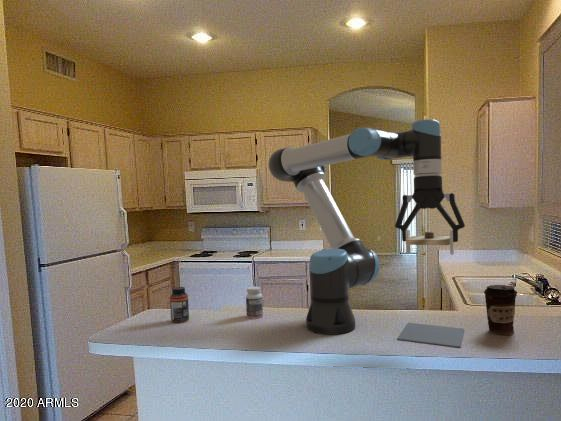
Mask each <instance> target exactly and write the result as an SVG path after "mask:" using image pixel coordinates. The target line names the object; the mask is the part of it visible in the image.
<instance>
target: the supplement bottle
mask: <svg viewBox="0 0 561 421" xmlns="http://www.w3.org/2000/svg"><path fill="white" fill-rule="evenodd" d="M169 301H170V302H169V303H170V322H172V323H173V322H174V324H181V323H180V322H183V323H186V322H188V321H189V320H190V314H189V313H190V311H189V310H190V309H189V295H188V293H187V292H186V288H185V286H176V287H173V288H172V294H171V295H170V296H169ZM187 320H188V321H187ZM185 321H186V322H185Z"/></svg>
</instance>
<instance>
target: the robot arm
mask: <svg viewBox="0 0 561 421" xmlns="http://www.w3.org/2000/svg"><path fill="white" fill-rule="evenodd" d="M411 125H412V126H411V129H409V130H406V131H401V132H400V131H399V132H398V131H397V132H392V131H387V130H381V129H377V128H373V127H369V126H368V127H367V126H366V127H357V128H356V129H354V130H353V131H352V132H351V133H349V134H345V135H341V136H338V137H332V138H330V139H325V140H322V141H318V142H316V143H311V144H308V145H303V146H299V147H296V148H295V147H293V146H288V147H284V148H280V149H277V150H275V151H274V152H272V154H271V155H270V157H269V160H268V170H269V172H270V174H271V176H273V178H274V179H276V180H277V181H281V182H287V183H290V182H292V183H293V184H294V187H295V189H296V191H297V192H299V193H302V194H303V196H304V197H305V199H306V201H307V203H308V206H309V207H310V209H311V211H312V213H313V215H314V216H315V218H316V220H317V223H318V225H319V226H320V229H321V230H322V233H323V234H324V236H325V239H326V240H327V242H328V244H329V246H330V248H328V249H321V250H318V251H315V252H314V253H312V254H311V256H310V257H309V267H308V270H309V287H310V304H309V307H308V311H307V314H306V318H305V328H306V329H307V330H309V331H311V332H313V333H317V334H323V335H339V334H346V333H349V332H351V331H354V330H355V329H356V319H355V316H354V313H353V309H352V306H351V304H350V302H349V301H350V299H349V297H350V296H349V294H350V292H349V289H352V288H355V287H359V286H365V285H367V284H369V283H371V282H373V281H374V280H375V279H376V278H377V276H378V274H379V272H380V271H379V270H380V260H379V257H378V255H377V253H376V252H375V251H374V250H372V249H371V248H367V247H366V246H365V245H364V243H363V242H362V240H361V238H357V237H355V235H354V234H353V233H352V231H351V229H350V227H349V225H348V224H347V223H348V222H347V221H346V219H345V218H344V216H343V213H342V212H341V210H340V208H339V206H338V205H337V203H336V201H335V199H334V197H333V196H332V194H331V191H330V190H329V188H328V186H327V185H326V182H325V181H326V178H327V177H326V167H327V166H329V165H333V164H339V163H344V162H348V161H353V160H359V159H364V158H368V157H369V158H370V157H373V158H374V157H376V158H377V159H379V160H381V161H382V160H383V161H384V160H385V161H390V160H395V159H401V158H407V157H408V158H410V157H412V159H413V160H412V161H413V162H412V163H413V164H412V165H413V166H412V167H413V175H414V176H415V177H414V178H413V193H412V195H409V194H403V195H402V204H401V206H400V211H399V213H398V215H397V216H398V217H397V218H396V222H395V225H394V227H395V228H396V229H398V230H401V240H402V242H406V239H408V238H410V237H411V230H410V229H409V227H410V225H411V224H412V222H413V220H414V219H415V218H416V216H417V214H418V213H419V211H420V210H421V209H422V210H425V209H430V210H431V209H437V210H438V212H439V213H440V214H441V216H442V217H443V219H444V221H446V222H447V224H448V225H449V226H450V227H451V229H450V230H449V236H450V244H449V255H454V254H455V244H454V243H457V242H458V241H459V230H461V229H464V228H465V227H466V224H465V222H464V219H463V217H462V214H461V212H460V210H459V207H458V206H457V203H456V195H455V193H453V192H451V193H444V191H443V177H442V176H441V175H442V173H443V162H442V160H443V159H442V131H441V123H440V121H439V120H437V119H431V118H428V119H420V120H417V121H413V123H412V124H411ZM444 199H446V201H447V202H449V205H450V207H451V209H452V211H453V214H454V217H455V218H456V221H457V223H458V224H456V223H455V221H454V220H453V218H452V217H451V215H450V214H449V213H448V212H447V211H446V209H445V207H444V206H443V205H442V201H443V200H444ZM412 200H413V201H414V202H415V203H416V204H415V206H414V207H413V208H412V211H411V212H410V214H409V215H408V217H407V218H406V220H405V221H404V218H405V215H406V212H407V209H408V206H409V203H411V201H412ZM403 221H404V223H403ZM405 254H411V245H406V244H405Z"/></svg>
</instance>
